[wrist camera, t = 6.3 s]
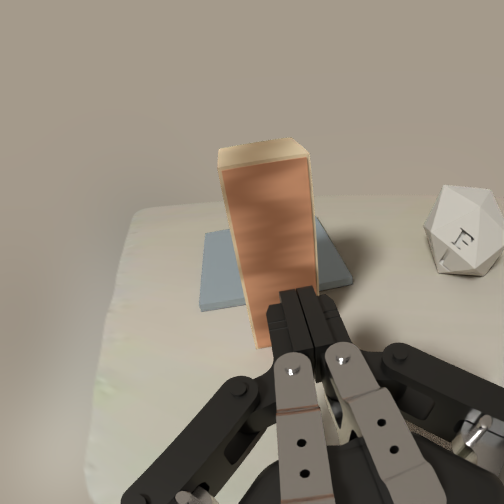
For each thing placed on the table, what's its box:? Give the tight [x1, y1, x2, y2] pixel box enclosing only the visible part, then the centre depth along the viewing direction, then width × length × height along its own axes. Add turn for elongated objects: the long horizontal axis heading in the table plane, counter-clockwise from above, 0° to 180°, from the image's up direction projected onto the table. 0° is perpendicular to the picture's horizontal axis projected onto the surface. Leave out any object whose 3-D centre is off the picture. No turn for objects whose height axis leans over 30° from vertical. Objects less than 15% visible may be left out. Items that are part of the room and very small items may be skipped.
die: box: [423, 185, 504, 276], centre depth 25 cm, size 8×9×10 cm
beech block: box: [217, 137, 319, 349], centre depth 22 cm, size 5×5×14 cm
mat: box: [199, 216, 353, 312], centre depth 34 cm, size 14×14×1 cm
